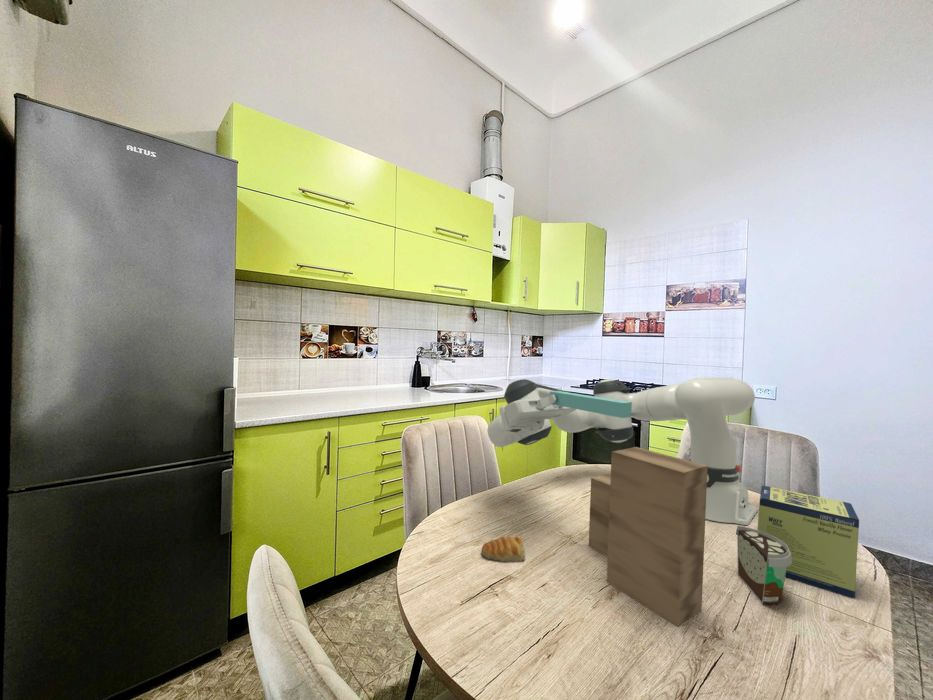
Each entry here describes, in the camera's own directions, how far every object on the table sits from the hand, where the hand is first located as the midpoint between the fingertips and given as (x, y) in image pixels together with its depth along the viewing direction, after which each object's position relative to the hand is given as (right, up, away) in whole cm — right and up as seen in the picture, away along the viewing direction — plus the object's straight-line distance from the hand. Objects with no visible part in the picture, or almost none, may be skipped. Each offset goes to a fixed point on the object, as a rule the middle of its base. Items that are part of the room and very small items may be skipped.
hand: (562, 396), depth 92 cm
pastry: (-14, -35, -7) cm, 38 cm away
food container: (+36, -36, -17) cm, 54 cm away
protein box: (+49, -37, -10) cm, 62 cm away
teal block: (+4, -2, -6) cm, 7 cm away
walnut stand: (+13, -35, -11) cm, 39 cm away
